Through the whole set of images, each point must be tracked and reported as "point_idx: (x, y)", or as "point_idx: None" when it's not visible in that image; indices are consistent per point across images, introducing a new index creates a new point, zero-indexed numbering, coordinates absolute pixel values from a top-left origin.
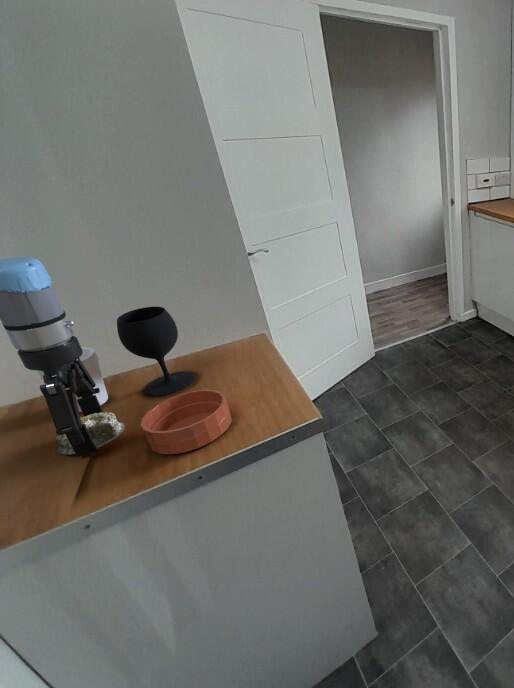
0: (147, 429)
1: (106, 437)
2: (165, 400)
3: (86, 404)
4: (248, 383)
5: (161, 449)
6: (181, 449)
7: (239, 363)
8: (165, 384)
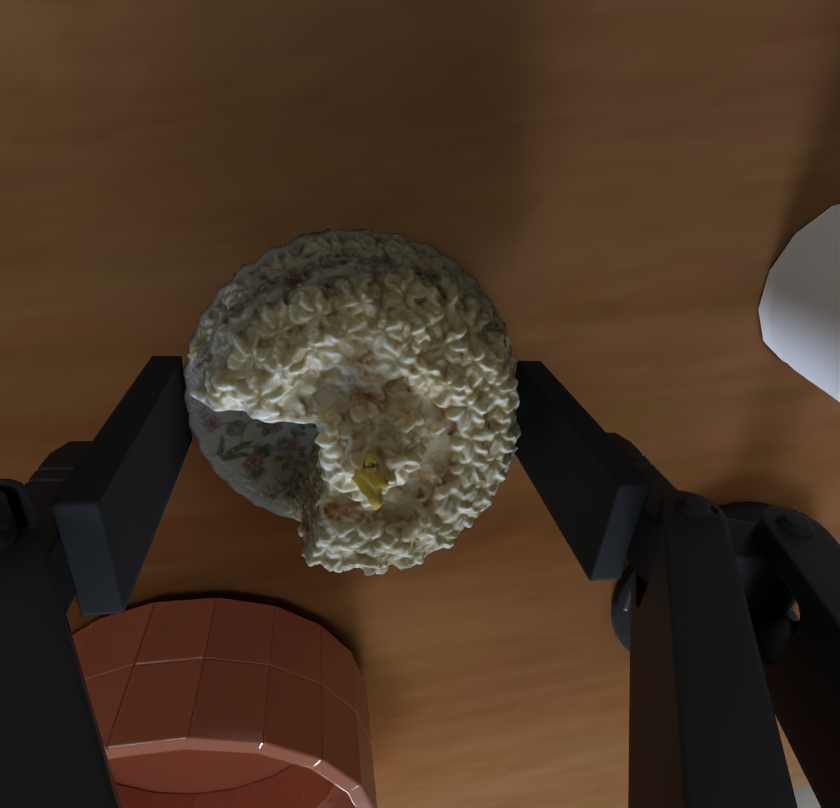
0: None
1: (309, 461)
2: (348, 783)
3: (582, 486)
4: (476, 797)
5: None
6: None
7: None
8: None
